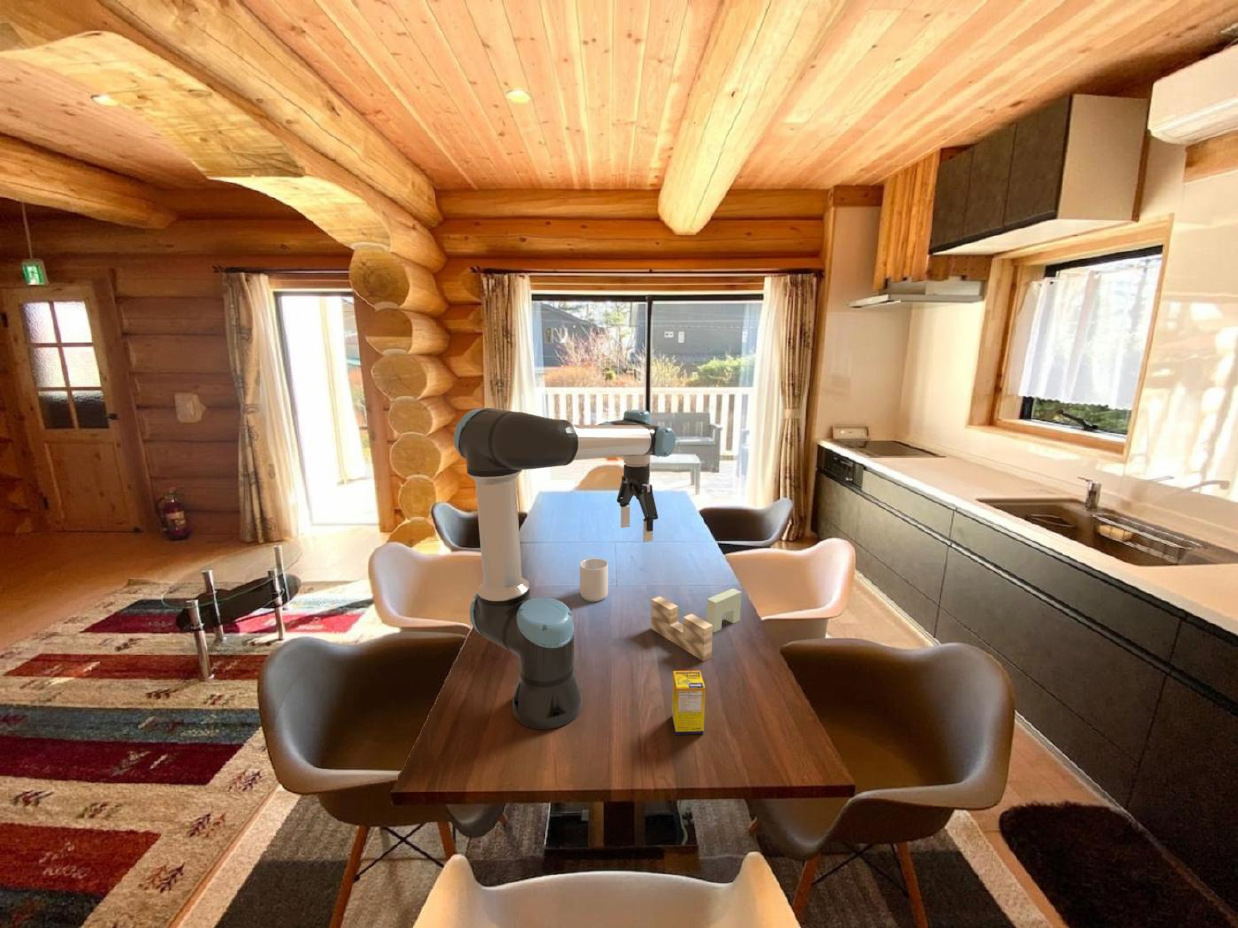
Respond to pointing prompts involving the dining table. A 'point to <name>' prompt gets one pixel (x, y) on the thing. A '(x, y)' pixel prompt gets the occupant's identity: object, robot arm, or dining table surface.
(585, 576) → the mug
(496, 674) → the dining table surface
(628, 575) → the dining table surface
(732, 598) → the sage plate
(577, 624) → the dining table surface
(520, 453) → the robot arm
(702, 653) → the birch board
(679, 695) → the supplement box
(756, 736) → the dining table surface
